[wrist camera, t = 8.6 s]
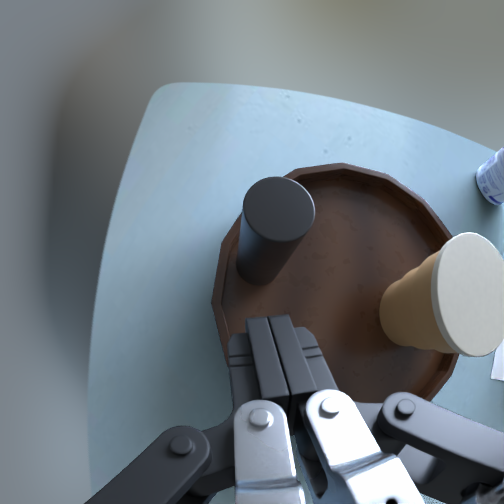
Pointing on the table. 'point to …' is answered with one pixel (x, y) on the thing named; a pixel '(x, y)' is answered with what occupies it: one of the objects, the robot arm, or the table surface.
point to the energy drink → (492, 178)
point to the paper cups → (449, 300)
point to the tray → (333, 272)
